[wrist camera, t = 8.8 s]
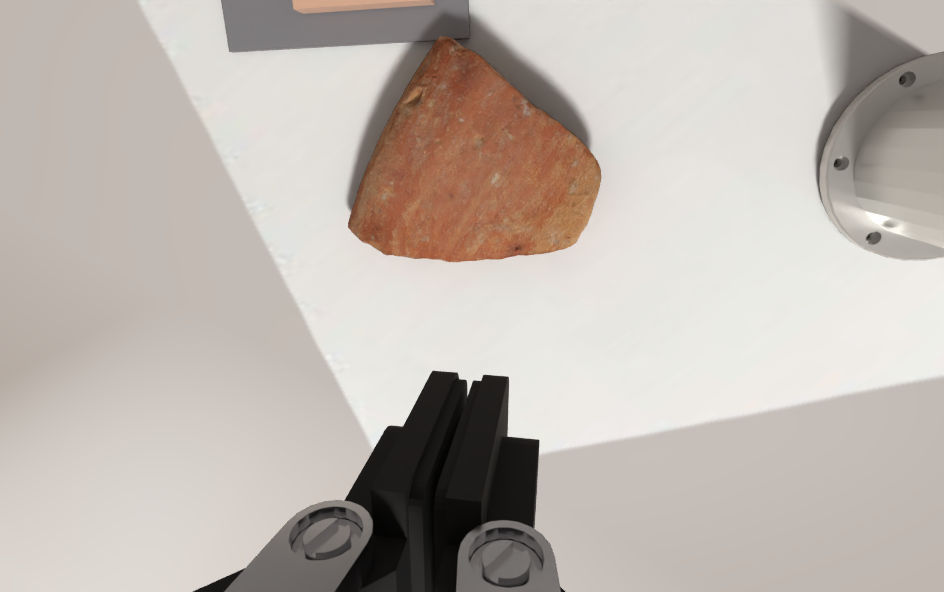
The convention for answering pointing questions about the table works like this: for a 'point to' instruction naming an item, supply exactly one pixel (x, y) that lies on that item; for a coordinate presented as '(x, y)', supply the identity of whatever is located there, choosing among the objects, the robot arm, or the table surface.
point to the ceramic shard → (472, 169)
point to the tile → (353, 5)
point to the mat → (338, 25)
